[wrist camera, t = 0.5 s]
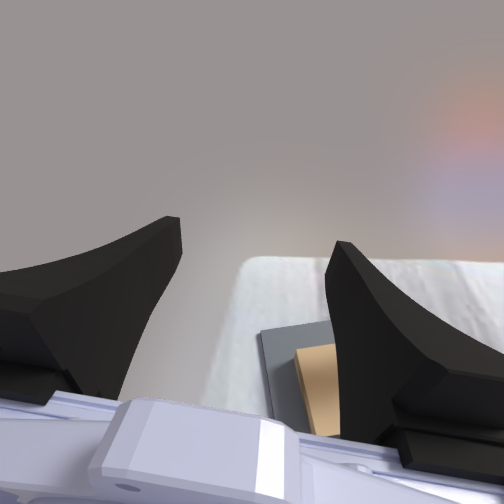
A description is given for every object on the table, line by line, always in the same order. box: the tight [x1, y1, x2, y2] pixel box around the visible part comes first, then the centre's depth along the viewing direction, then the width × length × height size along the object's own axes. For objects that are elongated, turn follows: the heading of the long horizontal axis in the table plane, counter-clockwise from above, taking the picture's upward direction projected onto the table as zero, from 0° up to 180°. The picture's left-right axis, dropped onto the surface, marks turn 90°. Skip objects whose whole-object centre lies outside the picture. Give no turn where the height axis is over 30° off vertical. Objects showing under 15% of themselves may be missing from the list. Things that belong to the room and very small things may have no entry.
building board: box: [261, 320, 340, 439], centre depth 25 cm, size 16×13×1 cm
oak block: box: [294, 344, 340, 437], centre depth 24 cm, size 7×7×3 cm
